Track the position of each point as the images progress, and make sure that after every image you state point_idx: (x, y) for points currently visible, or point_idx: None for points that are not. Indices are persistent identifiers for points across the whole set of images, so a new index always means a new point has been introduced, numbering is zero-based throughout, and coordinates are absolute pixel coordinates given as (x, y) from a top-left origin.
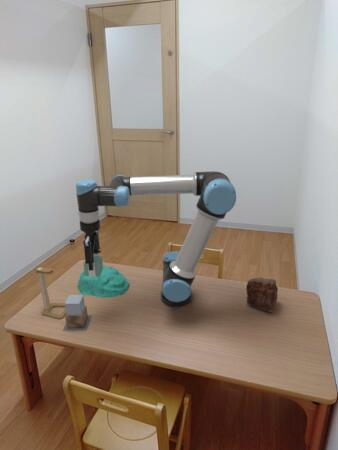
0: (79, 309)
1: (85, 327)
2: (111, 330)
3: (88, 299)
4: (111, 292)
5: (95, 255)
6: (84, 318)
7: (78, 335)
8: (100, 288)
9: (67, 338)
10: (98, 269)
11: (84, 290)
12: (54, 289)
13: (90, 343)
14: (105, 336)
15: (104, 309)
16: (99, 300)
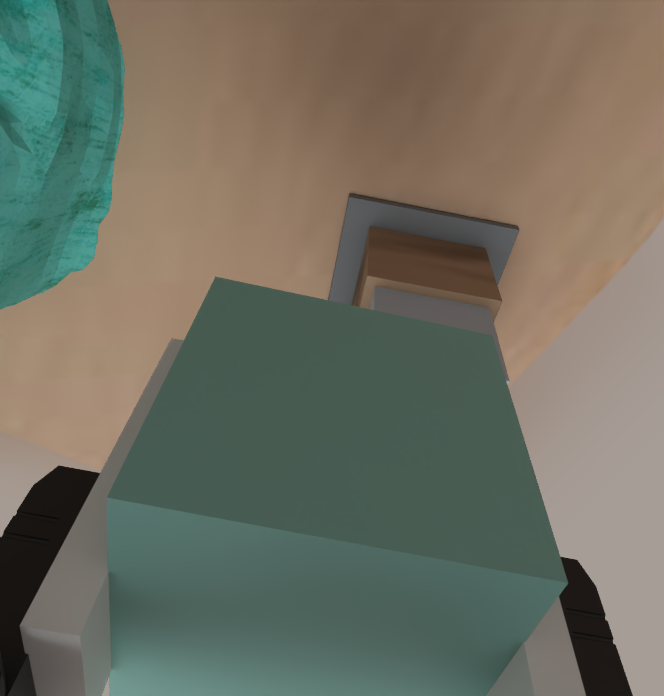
0: (496, 347)
1: (482, 238)
2: (578, 30)
3: (140, 229)
4: (76, 34)
5: (98, 641)
6: (450, 264)
7: (537, 274)
8: (56, 153)
9: (540, 332)
10: (519, 448)
11: (48, 268)
12: (40, 427)
13: (656, 195)
14: (631, 84)
15: (279, 97)
16: (152, 143)
